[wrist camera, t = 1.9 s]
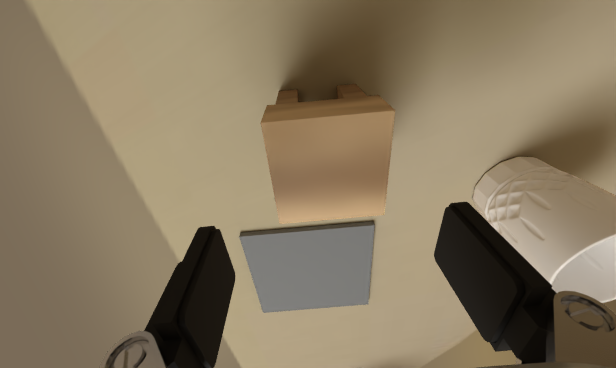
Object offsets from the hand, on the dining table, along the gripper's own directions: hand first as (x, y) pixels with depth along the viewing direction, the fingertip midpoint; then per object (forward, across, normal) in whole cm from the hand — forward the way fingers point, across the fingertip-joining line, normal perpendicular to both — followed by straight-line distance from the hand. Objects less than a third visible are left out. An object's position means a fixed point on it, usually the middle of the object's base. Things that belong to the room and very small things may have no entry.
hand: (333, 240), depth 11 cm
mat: (+13, +2, +17) cm, 21 cm away
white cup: (+12, -18, +7) cm, 23 cm away
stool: (+12, 0, -1) cm, 12 cm away
